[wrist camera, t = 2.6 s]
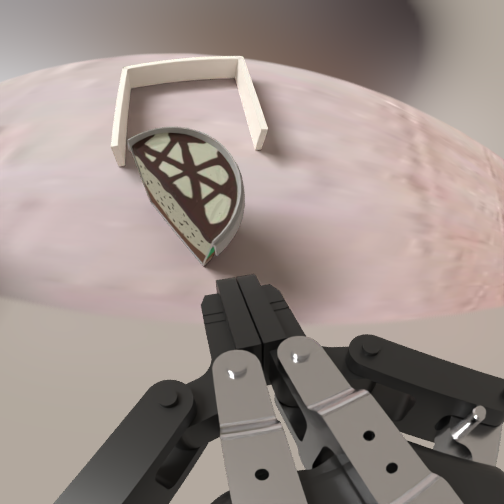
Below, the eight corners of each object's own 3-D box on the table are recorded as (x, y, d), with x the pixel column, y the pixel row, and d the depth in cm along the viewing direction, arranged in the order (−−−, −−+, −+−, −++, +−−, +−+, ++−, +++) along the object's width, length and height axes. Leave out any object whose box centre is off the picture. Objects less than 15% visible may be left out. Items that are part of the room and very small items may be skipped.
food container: (257, 240, 29) (283, 196, 20) (212, 278, 28) (218, 247, 18) (186, 163, 31) (185, 102, 21) (143, 193, 29) (124, 136, 19)
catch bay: (118, 166, 29) (110, 146, 25) (126, 86, 33) (122, 67, 29) (261, 149, 33) (268, 129, 29) (238, 75, 37) (242, 56, 33)
